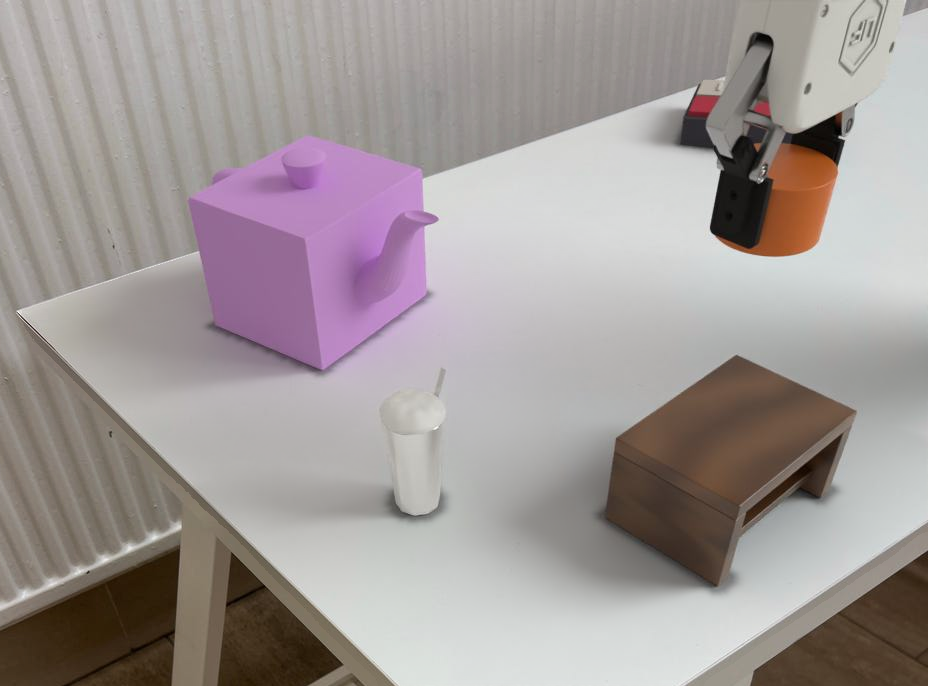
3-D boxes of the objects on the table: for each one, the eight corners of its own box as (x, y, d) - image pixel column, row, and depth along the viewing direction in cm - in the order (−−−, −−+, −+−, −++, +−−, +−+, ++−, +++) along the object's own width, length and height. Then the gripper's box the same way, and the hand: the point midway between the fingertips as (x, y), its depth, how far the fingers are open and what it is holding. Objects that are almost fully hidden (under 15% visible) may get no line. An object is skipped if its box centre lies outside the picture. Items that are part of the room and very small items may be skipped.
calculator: (699, 75, 117) (830, 81, 113) (695, 113, 120) (822, 120, 116) (683, 110, 110) (821, 118, 106) (679, 150, 113) (813, 158, 109)
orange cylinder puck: (840, 230, 60) (860, 165, 57) (779, 268, 57) (797, 201, 54) (751, 197, 64) (765, 132, 60) (689, 231, 61) (701, 165, 58)
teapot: (388, 398, 81) (375, 235, 70) (177, 309, 91) (139, 155, 80) (489, 317, 89) (491, 160, 78) (286, 243, 99) (264, 95, 88)
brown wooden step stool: (828, 491, 72) (857, 410, 67) (717, 586, 66) (739, 506, 61) (717, 433, 77) (736, 353, 72) (604, 517, 71) (615, 437, 65)
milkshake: (468, 495, 73) (467, 381, 65) (417, 531, 70) (410, 416, 63) (426, 469, 75) (420, 355, 67) (374, 502, 72) (363, 388, 65)
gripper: (824, -101, 41) (735, 293, 54) (1016, -167, 48) (897, 193, 62) (680, -129, 44) (631, 247, 58) (880, -186, 52) (795, 158, 65)
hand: (769, 216), depth 60 cm, fingers closed on orange cylinder puck, 6 cm apart
